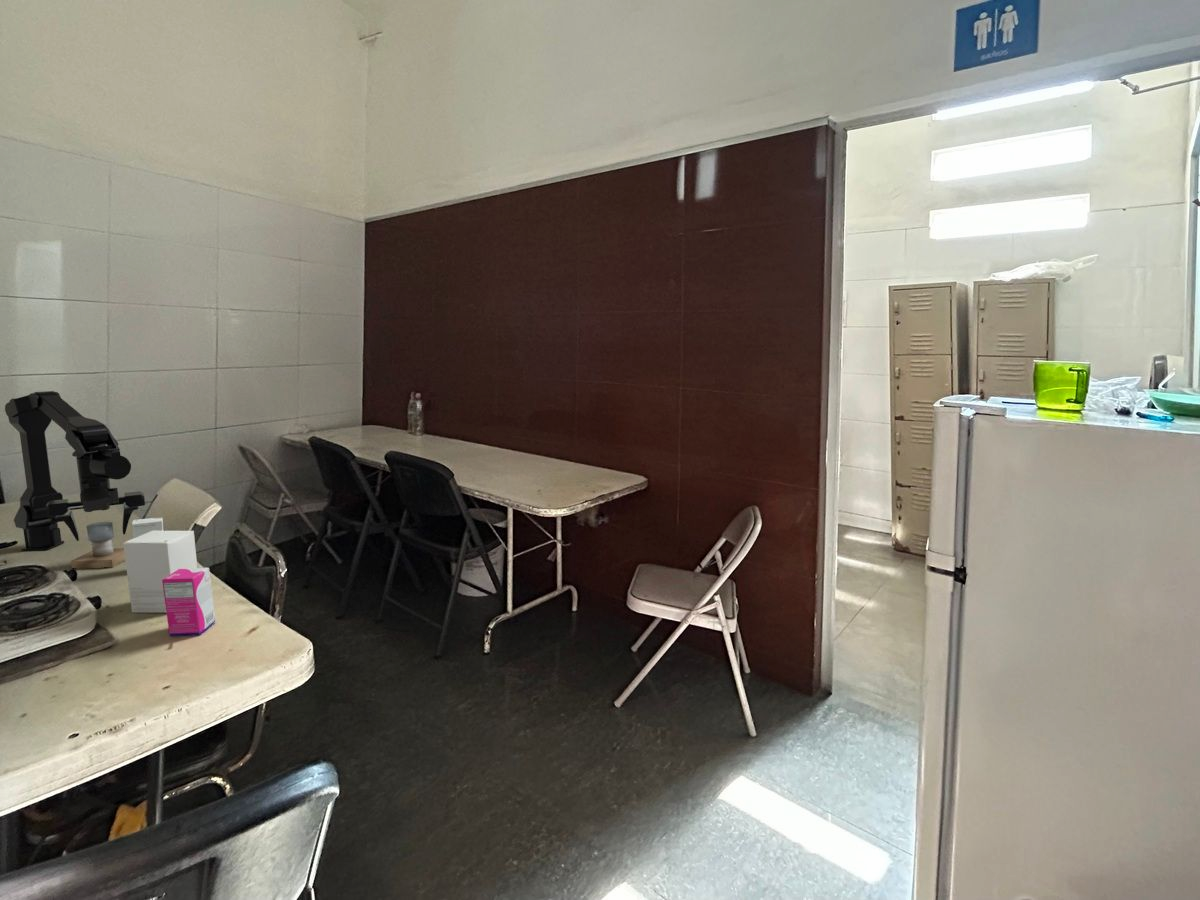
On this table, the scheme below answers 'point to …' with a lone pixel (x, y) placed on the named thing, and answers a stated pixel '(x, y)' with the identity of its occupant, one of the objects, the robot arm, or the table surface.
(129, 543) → the supplement box
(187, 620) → the supplement box
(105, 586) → the table surface
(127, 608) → the table surface
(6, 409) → the robot arm
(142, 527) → the skincare box
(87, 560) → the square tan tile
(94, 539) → the smooth rounded gray lump
